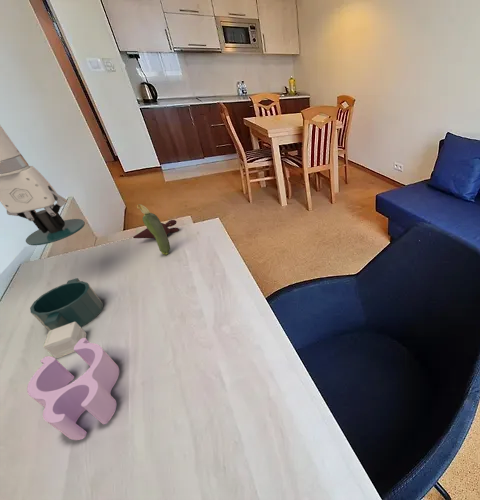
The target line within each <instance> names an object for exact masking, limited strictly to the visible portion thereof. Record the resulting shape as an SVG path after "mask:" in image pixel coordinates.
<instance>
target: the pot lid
mask: <svg viewBox="0 0 480 500" xmlns="http://www.w3.org/2000/svg"><path fill="white" fill-rule="evenodd" d="M36 212H37V213H35V214H36V216H37V217H38V218H39V220H40V221H41V222H42V223H43V225H44V226H45V227H46V229H47V230H48V231H47V233H43V232H42V231H41V230H39V229H37V230H35V231H34V232H31V234H29V235H28V236H27V237H26V238H25V243H26V244H27V245H28V246H43V245H48V244H52V243H56V242H58V241H61V240H64V239H67V238H68V237H70V236H72V235H74V234H76V233H77V232H79V231H81V230H82V229H83V228H84V227H85V225H86V222H85V220H84V219H82V218H81V219H80V218H69V219H63V220H64V222H65V226H64V227H63V228H62V229H60V230H59V229H57V227H56V226H55V225H54V223H53V222H52V221H51V219H50V217H51V216H50V214H49V213H48V212H47V211H46V210H45V209H42V210H39V211H36Z"/></svg>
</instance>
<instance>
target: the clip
mask: <svg viewBox="0 0 480 500" xmlns="http://www.w3.org/2000/svg"><path fill="white" fill-rule="evenodd" d="M74 351H75V352H76V354H77V355H78V356H79V357H80V358H81V359H82V360H83V361H84V362H85V363H86V364H87V365H88V366H89V367H88V369H87V370H86V371H85V372H84V373H83V374H82V375H80V376H79V377H78V378H76V379H75V376H74V375H73V374H72V373H71V371H69V370H68V369H67V368H66V367H65V366H64V365H63V364H61V362H59V360H57V358H55V357H54V356H49V355H47V356H44V357H43V358H41V359H40V363H41V364H42V365H41V366H40V367H38V369H37V370H36V371H35V372H34V374H33V375H32V376H31V378H30V380H29V381H28V383H27V388H26V393H27V394H28V396H29V397H30V398H32V399H33V400H34V401H36V402H37V403H38V404H39V405H41V406H42V407H43V410H42V418H43V420H44V421H45V422H46V423H48V424H49V425H50V426H52V427H53V428H55V430H57V431H58V432H60V433H61V434H62V435H64V436H65V437H67V438H68V439H69V440H72V441H80V440H83V439H85V438H86V436H87V434H88V432H87V430H85V429H84V428H83V427H81V426H80V425H79V424H78V423H77V422H78V419H79V418H80V416H81V415H82V414H84V413H85V412H88V413H89V414H91V415H92V416H93V417H94V418H95V419H96V420H97V421H99V423H101V424H102V425H107V424H108V423H110V420H111V419H112V418H113V416H114V414H115V412H116V410H117V400H116V399H115V398H114V397H113V396H112V395H111V392H112V389H113V388H114V387H115V385H116V383H117V382H118V379H119V376H120V367H119V365H118V364H117V363H116V362H115V361H114V360H113V359H112V357H111V355H109V354H108V352H107V351H105V350H104V348H103V347H102V346H101V345H100V344H98V343H95V342H90V341H89V340H88V339H87V337H86V338H82V339H80V340H79V341H78V342H77V344H76V345H75V347H74ZM75 352H74V353H75ZM74 379H75V380H74Z"/></svg>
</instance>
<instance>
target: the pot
mask: <svg viewBox="0 0 480 500" xmlns="http://www.w3.org/2000/svg"><path fill="white" fill-rule="evenodd" d="M103 307H104V303H103V301H102V300H101V298H100V297H99V296H98V294H97V293H96V292H95V290H94V289H93V288H92V287H91V285H90V284H89V283H88V282H86V281H83V280H80V279H79V278H78V277H77V278H72V279H69V280H67V282H66V283H63V284H61V285H59V286H55V287H53V288H52V289H50V290H48V291H47V292H45V293H43V294H41V295H40V296H39V297H38V298H37V299H35V300H34V302H33V303H32V304H31V306H30V307H29V310H30V314H31V315H32V316H33V317H34V318H35V319H36V320H37V321H38V322H39V323H40V324H41V325H42V326H43V327H44V328H45V329H46V330H47V331H48V332H49V331H51V330H53V329H56V328H59V327H61V326H64V325H67V324H70V323H72V322H76V323H77V324H78V325H79V326H80V327H81V328H82V327H85V326H86V325H88V324H89V323H91V322H92V321H93V320H95V318H97V317H98V316H99V315H100V314H101V312H102V311H103Z"/></svg>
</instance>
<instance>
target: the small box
mask: <svg viewBox="0 0 480 500" xmlns="http://www.w3.org/2000/svg"><path fill="white" fill-rule="evenodd" d="M82 338H86V339H87V332H86V331H85V330H84V329H83V328H82V327H80V326H79V325H78V324H77V323H76V322H72V323H70V324H67V325H64V326H61V327H59V328H56V329H53V330H51V331H48V332H47V335H46V338H45V340H44V344H43V346H42V348H44V349H45V350H46V351H47V352H48V353H49V354H50V355H51V356H52V357H54V358H55V359H59V358H62V357H64V356H67V355H70V354H73V353H75V351H74V347H75V345H76V344H77V342H78V341H79V340H80V339H82Z"/></svg>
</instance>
